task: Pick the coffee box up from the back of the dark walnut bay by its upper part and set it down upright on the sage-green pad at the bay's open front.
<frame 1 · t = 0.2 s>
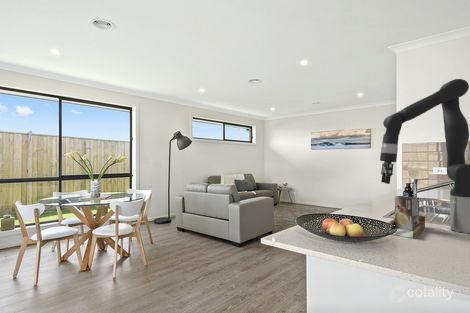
hand: (385, 183, 135), 23 cm above the counter, tool pointing down, fingers open, 8 cm apart
coffee box: (406, 228, 131), resting in rack bay
rack bay: (404, 230, 127), on the counter
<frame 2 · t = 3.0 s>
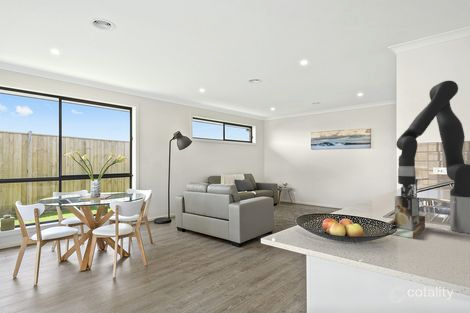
hand: (406, 206, 131), 11 cm above the counter, tool pointing down, fingers closed on coffee box, 8 cm apart
coffee box: (407, 228, 131), resting in rack bay, touching gripper
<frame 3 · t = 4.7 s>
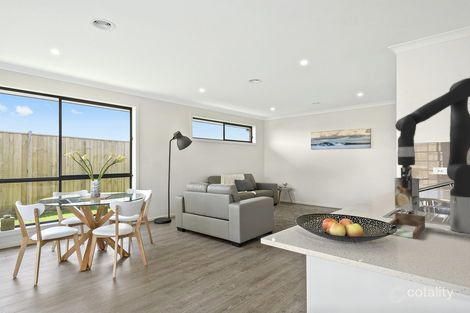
hand: (406, 187, 132), 21 cm above the counter, tool pointing down, fingers closed on coffee box, 8 cm apart
coffee box: (407, 209, 131), point 10 cm above the counter, touching gripper
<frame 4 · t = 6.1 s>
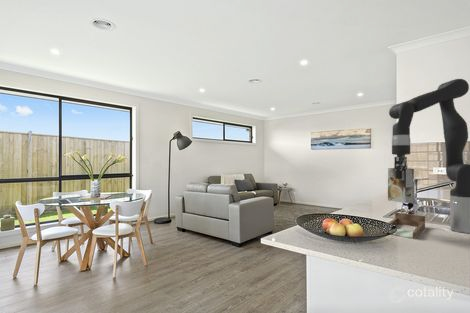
hand: (400, 178, 123), 26 cm above the counter, tool pointing down, fingers closed on coffee box, 8 cm apart
coffee box: (400, 201, 123), point 15 cm above the counter, touching gripper
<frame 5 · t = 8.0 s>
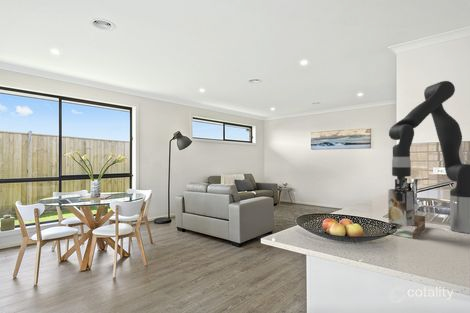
hand: (401, 200, 122), 16 cm above the counter, tool pointing down, fingers closed on coffee box, 8 cm apart
coffee box: (401, 223, 122), point 5 cm above the counter, touching gripper
when the fingers open (13 cm above the counter, at t = 9.4 s): coffee box drops 1 cm, resting on rack bay.
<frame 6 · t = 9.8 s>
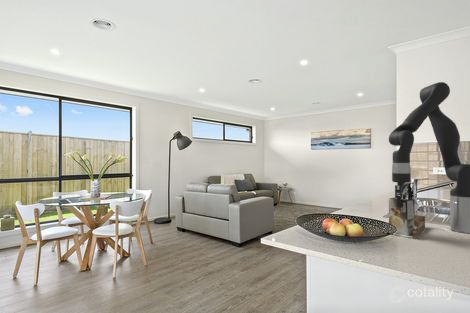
hand: (401, 206, 122), 13 cm above the counter, tool pointing down, fingers open, 8 cm apart
coffee box: (401, 232, 122), resting on rack bay
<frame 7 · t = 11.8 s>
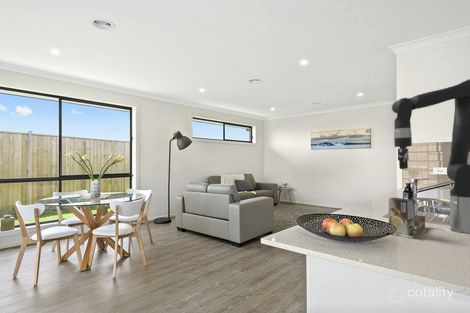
hand: (403, 168, 132), 31 cm above the counter, tool pointing down, fingers open, 8 cm apart
nothing on the counter moved.
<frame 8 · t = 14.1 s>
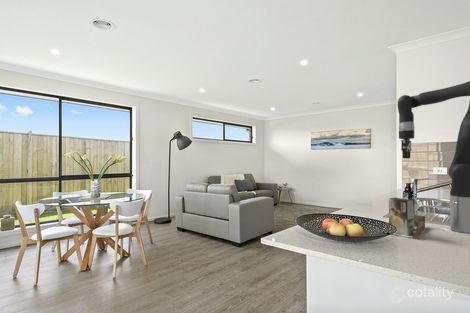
hand: (406, 158, 147), 36 cm above the counter, tool pointing down, fingers open, 8 cm apart
nothing on the counter moved.
at the end: coffee box inside the target area on the rack bay (0.5 cm from its centre), point 0.2 cm above the rack bay's base; coffee box tilted 0°; the gripper is holding nothing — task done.
